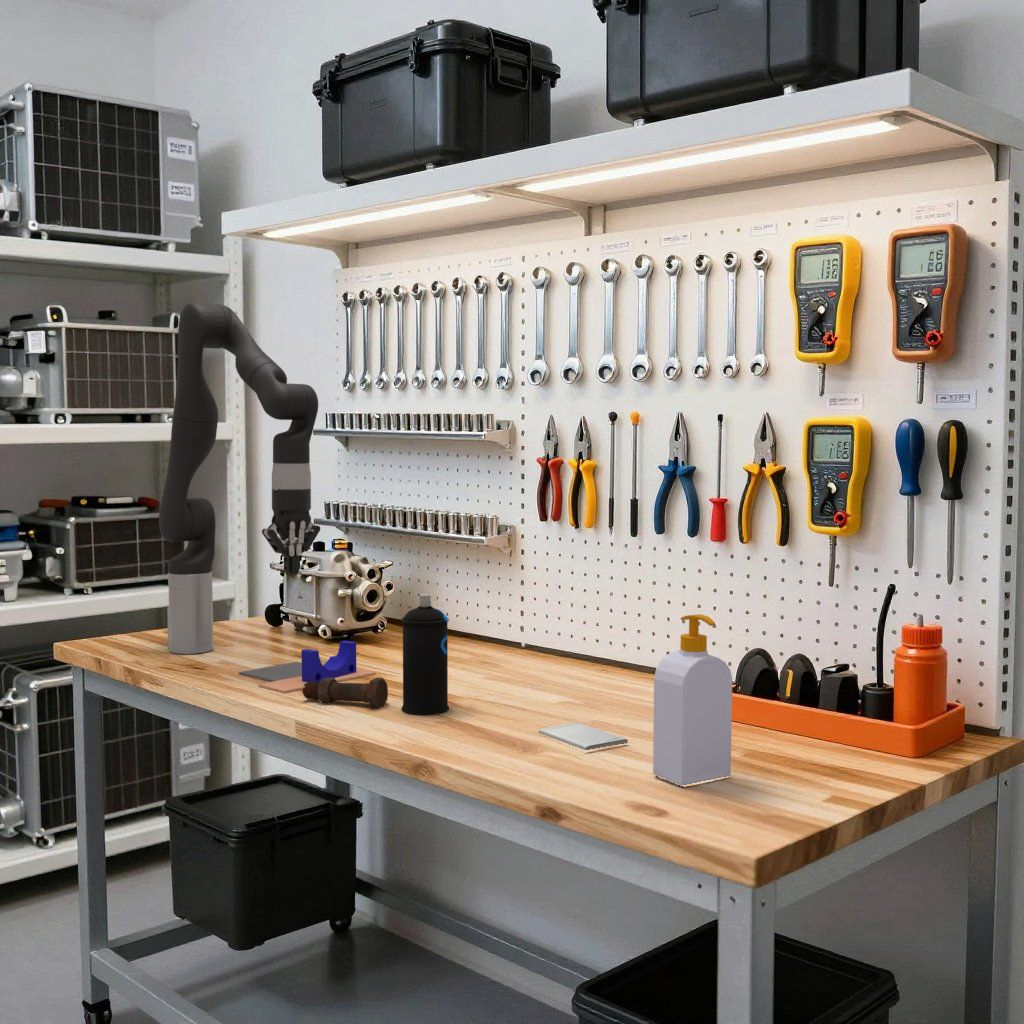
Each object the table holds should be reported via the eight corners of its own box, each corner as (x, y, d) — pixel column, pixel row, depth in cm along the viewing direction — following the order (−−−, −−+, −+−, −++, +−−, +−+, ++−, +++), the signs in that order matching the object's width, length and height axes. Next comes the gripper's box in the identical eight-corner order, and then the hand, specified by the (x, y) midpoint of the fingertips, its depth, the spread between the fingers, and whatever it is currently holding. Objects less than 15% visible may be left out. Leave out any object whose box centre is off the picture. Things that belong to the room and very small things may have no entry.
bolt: (309, 709, 206) (384, 714, 201) (295, 701, 202) (372, 705, 197) (315, 678, 209) (390, 682, 204) (303, 669, 204) (379, 673, 199)
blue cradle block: (339, 669, 229) (339, 639, 229) (356, 672, 227) (356, 642, 226) (296, 680, 220) (295, 649, 219) (313, 683, 217) (312, 651, 217)
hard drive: (628, 738, 176) (579, 721, 187) (585, 746, 172) (538, 728, 182) (628, 749, 176) (579, 731, 187) (585, 757, 172) (538, 738, 182)
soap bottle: (685, 790, 154) (687, 621, 153) (652, 777, 160) (654, 614, 158) (735, 779, 159) (737, 615, 157) (701, 767, 165) (703, 608, 163)
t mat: (221, 677, 224) (221, 675, 224) (312, 660, 240) (312, 658, 240) (284, 693, 211) (284, 690, 211) (375, 674, 227) (375, 672, 227)
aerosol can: (409, 717, 193) (408, 599, 192) (395, 706, 201) (395, 592, 199) (455, 712, 196) (455, 596, 195) (440, 702, 204) (440, 590, 202)
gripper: (306, 484, 231) (306, 569, 233) (251, 486, 222) (252, 575, 223) (330, 486, 226) (330, 573, 228) (275, 488, 217) (275, 579, 218)
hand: (291, 574), depth 225 cm, fingers closed
